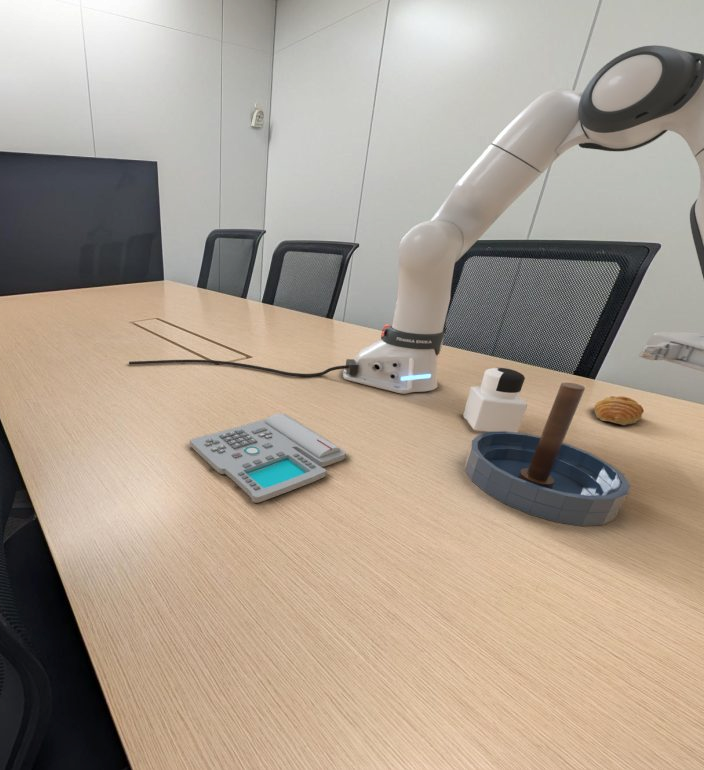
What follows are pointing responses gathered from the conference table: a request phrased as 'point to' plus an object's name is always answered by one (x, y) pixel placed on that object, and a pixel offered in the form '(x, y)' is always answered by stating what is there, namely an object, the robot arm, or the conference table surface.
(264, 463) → the office telephone
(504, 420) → the medicine bottle
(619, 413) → the pastry
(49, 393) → the conference table surface
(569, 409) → the stirring stick
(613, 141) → the robot arm
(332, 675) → the conference table surface
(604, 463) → the bowl
